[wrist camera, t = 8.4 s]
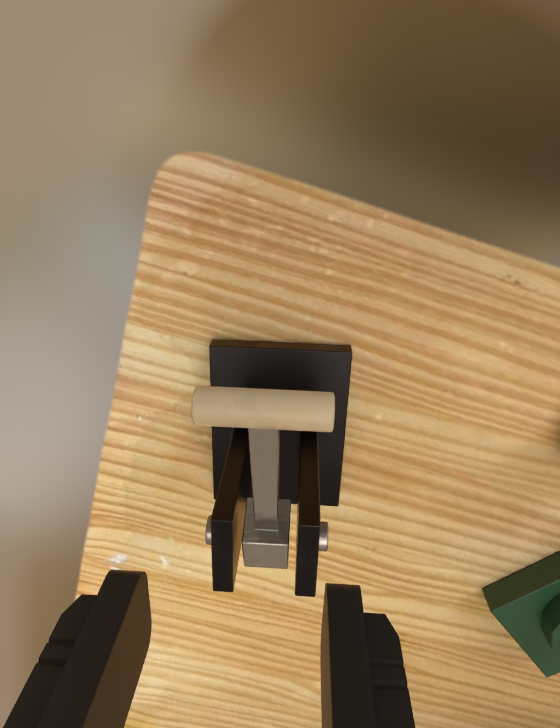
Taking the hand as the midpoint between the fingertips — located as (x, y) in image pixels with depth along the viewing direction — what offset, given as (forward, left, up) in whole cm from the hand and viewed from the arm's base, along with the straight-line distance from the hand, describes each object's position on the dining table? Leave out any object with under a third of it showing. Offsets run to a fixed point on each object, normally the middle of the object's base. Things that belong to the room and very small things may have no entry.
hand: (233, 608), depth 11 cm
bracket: (+6, +7, -23) cm, 25 cm away
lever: (+3, +3, -11) cm, 12 cm away
